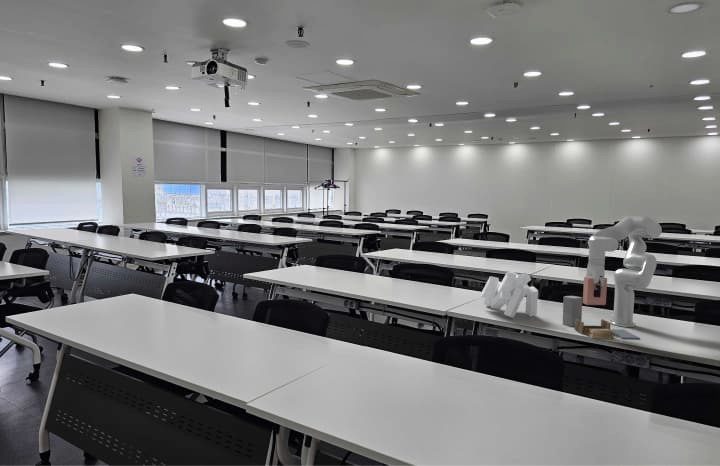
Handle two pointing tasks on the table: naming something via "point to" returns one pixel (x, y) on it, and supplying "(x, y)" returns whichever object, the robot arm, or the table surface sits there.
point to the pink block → (589, 292)
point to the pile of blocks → (511, 293)
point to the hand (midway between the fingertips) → (594, 295)
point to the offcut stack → (600, 333)
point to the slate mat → (623, 334)
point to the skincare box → (572, 310)
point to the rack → (585, 329)
